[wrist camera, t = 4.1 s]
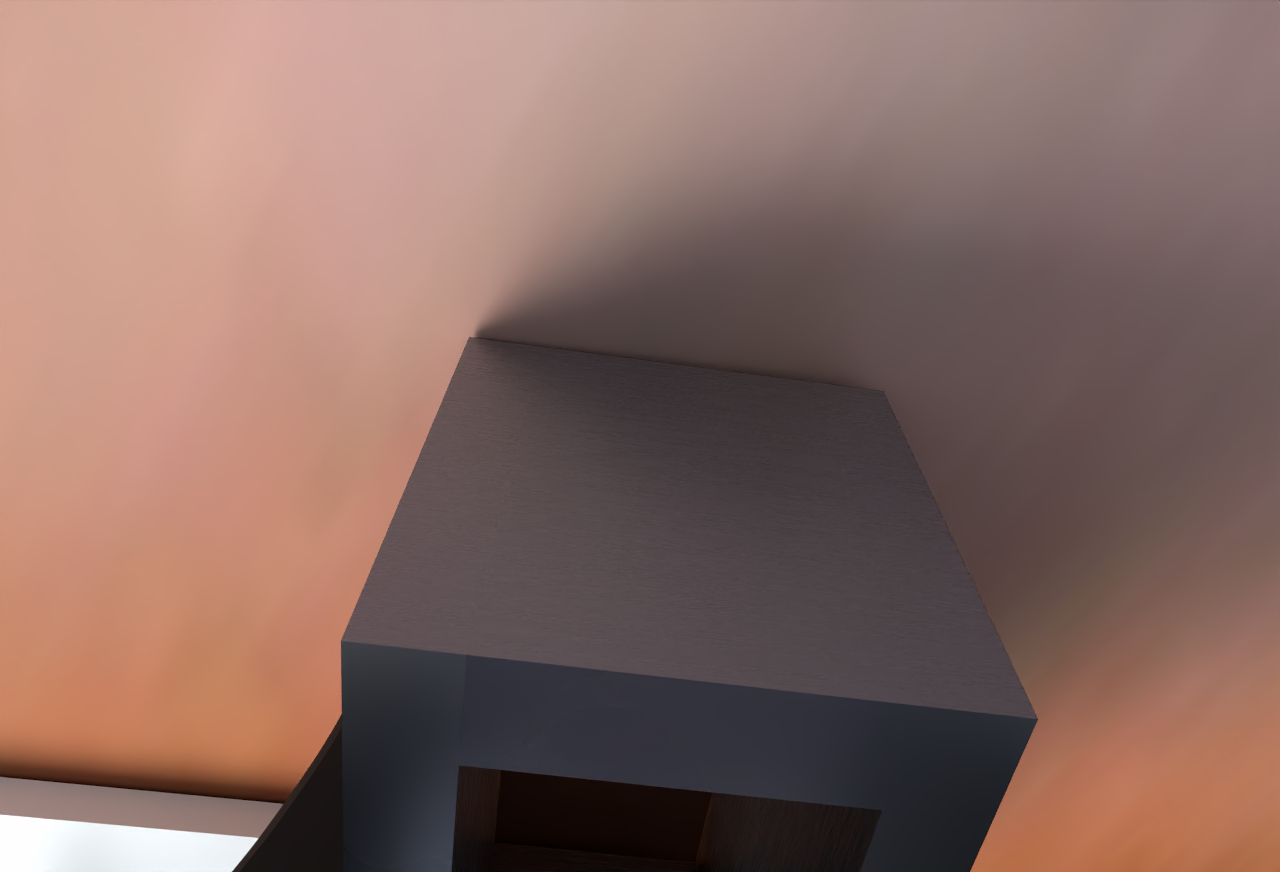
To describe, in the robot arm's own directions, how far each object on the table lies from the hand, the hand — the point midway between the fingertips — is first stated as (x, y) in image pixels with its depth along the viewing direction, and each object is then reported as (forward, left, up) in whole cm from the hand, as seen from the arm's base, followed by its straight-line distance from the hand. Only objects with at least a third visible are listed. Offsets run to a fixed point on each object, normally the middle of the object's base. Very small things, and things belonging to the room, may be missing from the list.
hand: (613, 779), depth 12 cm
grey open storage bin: (0, 0, -2) cm, 2 cm away
